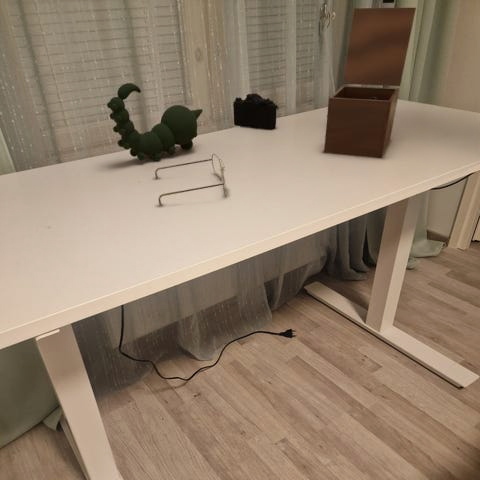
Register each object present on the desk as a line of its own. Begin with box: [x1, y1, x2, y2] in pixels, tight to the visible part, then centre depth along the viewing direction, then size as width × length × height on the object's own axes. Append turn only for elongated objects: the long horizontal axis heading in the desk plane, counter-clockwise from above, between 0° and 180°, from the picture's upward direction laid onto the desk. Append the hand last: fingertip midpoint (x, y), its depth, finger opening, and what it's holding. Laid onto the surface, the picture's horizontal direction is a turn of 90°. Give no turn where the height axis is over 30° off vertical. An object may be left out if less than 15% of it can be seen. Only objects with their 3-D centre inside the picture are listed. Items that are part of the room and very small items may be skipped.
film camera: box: [232, 92, 279, 131], centre depth 131 cm, size 15×10×9 cm, turn 59°
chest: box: [323, 85, 400, 159], centre depth 109 cm, size 16×15×13 cm
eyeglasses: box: [154, 153, 228, 206], centre depth 92 cm, size 16×15×5 cm
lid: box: [342, 7, 417, 87], centre depth 107 cm, size 16×15×1 cm
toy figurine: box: [106, 82, 203, 162], centre depth 107 cm, size 9×19×25 cm
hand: (388, 2), depth 108 cm, fingers closed
